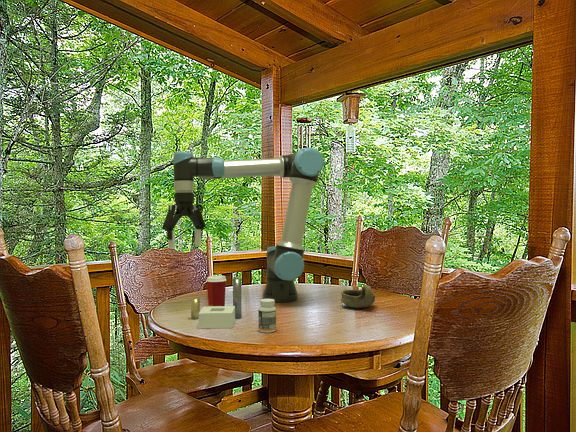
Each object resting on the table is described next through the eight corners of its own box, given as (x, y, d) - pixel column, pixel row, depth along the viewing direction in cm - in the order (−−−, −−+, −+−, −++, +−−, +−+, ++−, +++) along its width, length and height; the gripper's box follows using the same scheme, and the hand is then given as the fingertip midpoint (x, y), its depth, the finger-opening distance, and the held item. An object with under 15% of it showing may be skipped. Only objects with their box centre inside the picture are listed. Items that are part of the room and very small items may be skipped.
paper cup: (230, 312, 173) (230, 275, 173) (221, 317, 166) (220, 278, 166) (212, 311, 176) (211, 275, 176) (202, 315, 169) (201, 277, 169)
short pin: (200, 317, 166) (200, 298, 166) (199, 319, 163) (198, 299, 163) (192, 317, 166) (191, 298, 166) (190, 319, 163) (190, 299, 163)
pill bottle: (258, 328, 149) (258, 298, 149) (275, 328, 150) (275, 298, 150) (258, 333, 144) (258, 301, 144) (276, 332, 144) (276, 301, 144)
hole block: (235, 320, 161) (235, 306, 161) (232, 328, 150) (232, 312, 150) (203, 320, 161) (203, 306, 161) (198, 328, 150) (198, 313, 150)
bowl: (366, 303, 190) (366, 279, 190) (385, 312, 173) (385, 285, 173) (335, 305, 186) (335, 280, 186) (351, 314, 169) (351, 287, 169)
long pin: (241, 316, 166) (241, 278, 166) (241, 318, 163) (240, 279, 163) (233, 317, 166) (233, 278, 166) (232, 318, 163) (232, 279, 163)
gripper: (200, 193, 189) (201, 244, 190) (151, 191, 169) (152, 249, 169) (213, 192, 185) (214, 244, 185) (165, 191, 165) (166, 250, 165)
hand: (185, 247), depth 177 cm, fingers open, 13 cm apart
